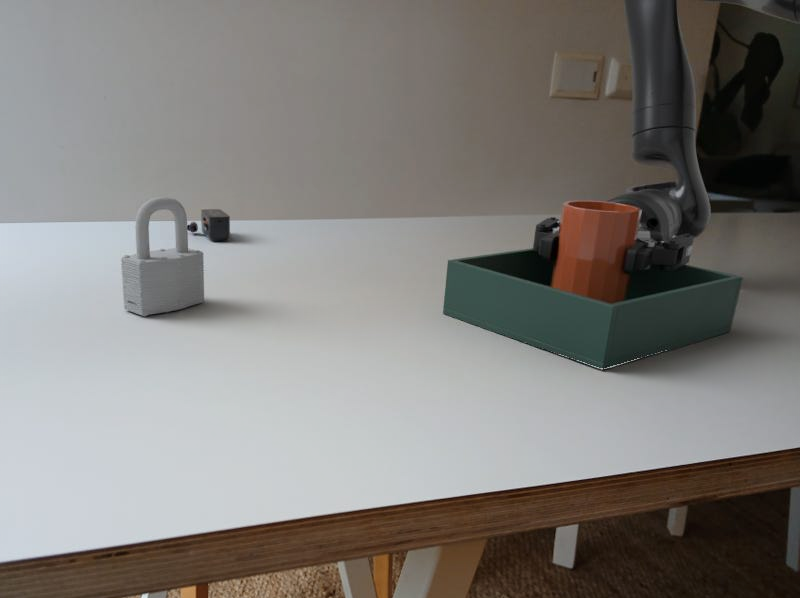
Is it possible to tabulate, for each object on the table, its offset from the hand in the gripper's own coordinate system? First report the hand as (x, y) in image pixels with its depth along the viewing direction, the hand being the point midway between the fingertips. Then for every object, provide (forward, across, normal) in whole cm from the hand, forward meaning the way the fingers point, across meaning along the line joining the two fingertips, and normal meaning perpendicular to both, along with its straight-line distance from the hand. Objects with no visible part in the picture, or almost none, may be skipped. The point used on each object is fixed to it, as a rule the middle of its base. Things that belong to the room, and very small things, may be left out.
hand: (587, 255), depth 64 cm
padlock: (+18, -32, +7) cm, 38 cm away
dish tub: (-2, 0, +7) cm, 7 cm away
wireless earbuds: (-9, -52, +7) cm, 53 cm away
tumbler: (-2, 0, +6) cm, 6 cm away
